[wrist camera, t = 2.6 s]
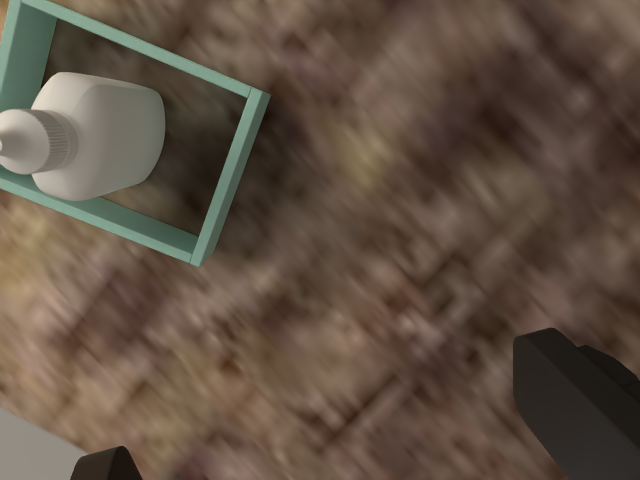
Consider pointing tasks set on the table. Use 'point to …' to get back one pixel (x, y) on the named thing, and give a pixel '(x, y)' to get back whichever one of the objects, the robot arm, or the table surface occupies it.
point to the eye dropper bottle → (84, 136)
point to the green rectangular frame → (20, 93)
